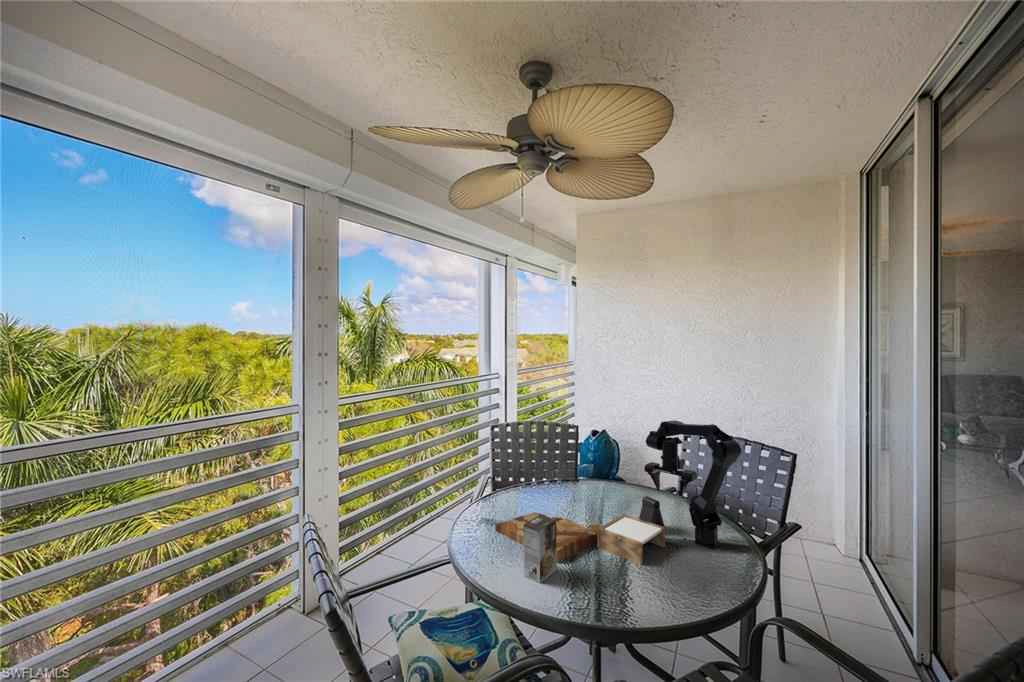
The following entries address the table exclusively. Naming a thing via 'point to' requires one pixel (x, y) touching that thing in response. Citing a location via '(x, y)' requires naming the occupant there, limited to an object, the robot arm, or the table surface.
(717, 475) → the robot arm
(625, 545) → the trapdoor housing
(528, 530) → the coffee box
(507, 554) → the table surface
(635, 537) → the trapdoor
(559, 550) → the decorative slab
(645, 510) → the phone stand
